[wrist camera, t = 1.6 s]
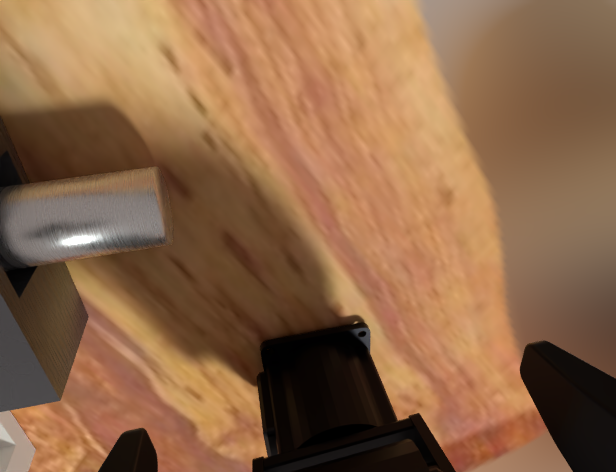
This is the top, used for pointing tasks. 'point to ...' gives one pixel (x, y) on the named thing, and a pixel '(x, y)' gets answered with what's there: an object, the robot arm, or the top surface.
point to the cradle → (14, 445)
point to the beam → (35, 318)
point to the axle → (83, 217)
